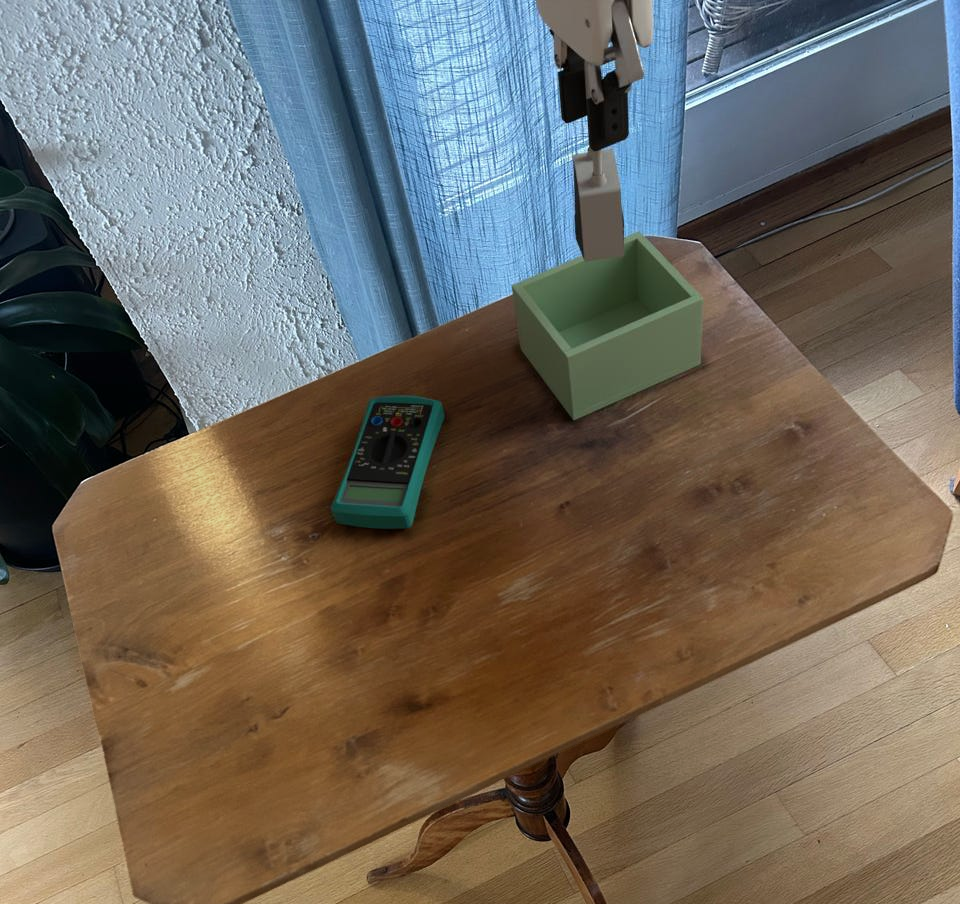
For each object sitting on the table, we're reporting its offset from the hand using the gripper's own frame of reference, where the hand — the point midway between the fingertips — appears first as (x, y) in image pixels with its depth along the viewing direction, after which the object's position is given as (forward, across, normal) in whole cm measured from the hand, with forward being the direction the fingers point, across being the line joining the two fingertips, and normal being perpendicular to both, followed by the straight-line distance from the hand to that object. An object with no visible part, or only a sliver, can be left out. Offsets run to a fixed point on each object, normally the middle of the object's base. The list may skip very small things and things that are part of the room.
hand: (594, 127), depth 80 cm
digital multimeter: (+24, -2, +24) cm, 34 cm away
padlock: (+10, 0, 0) cm, 10 cm away
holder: (+24, 0, 0) cm, 24 cm away
